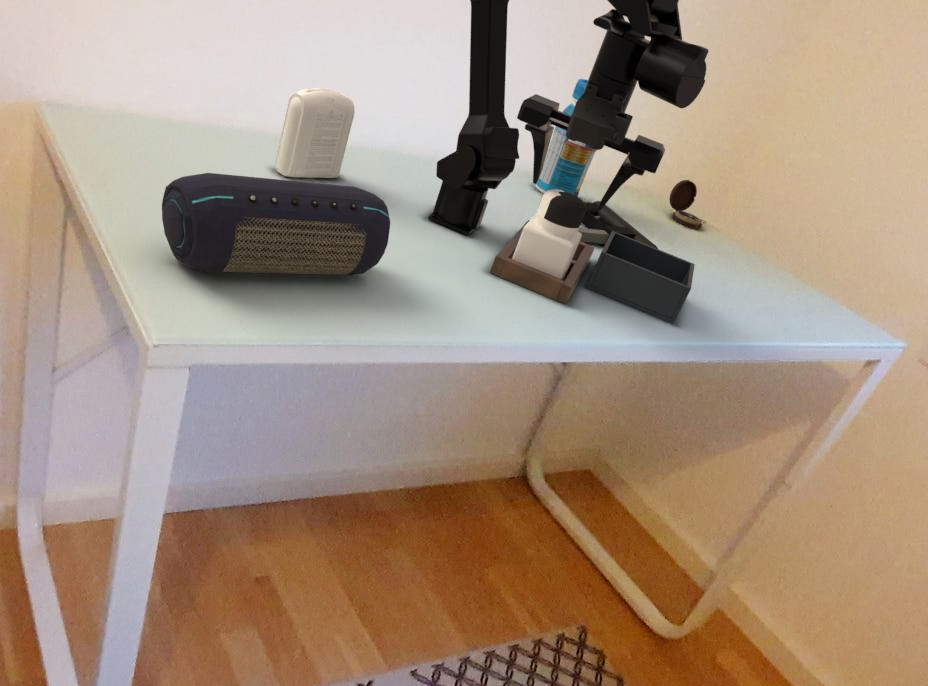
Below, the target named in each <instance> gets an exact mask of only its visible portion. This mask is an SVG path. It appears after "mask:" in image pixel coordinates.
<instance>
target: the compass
mask: <svg viewBox="0 0 928 686" xmlns="http://www.w3.org/2000/svg"><path fill="white" fill-rule="evenodd" d="M697 191H698V188H697V186H696V183H694V181H691V180H690V179H683V180H681V181H679V182H678V183H676V184H675V185H674V186H673V188H672V190H671V191H670V194H669V199H668V200H669V205H670V207H671V208H672V209H673V210H675V211H674V212H672V215H671V217H672V219H673V220H674V221H676V222H677V223H679V224H681V225H682V226H686V227H688V228H690V229H695V230H696V229H697V230H699V229H701V228H702V226H703V224H707V221H706V220H704V219H701V218H699V217H697V216H696V215H695V214H693V213H690V212H687V210H688V209H689V208H690V207H691V206H692V205H693V203H694V202H695V200H696V199H695V198H696V197H697V194H698V192H697Z"/></svg>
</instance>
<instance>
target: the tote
mask: <svg viewBox="0 0 928 686" xmlns="http://www.w3.org/2000/svg"><path fill="white" fill-rule="evenodd" d="M694 271H695V263H693V262H691V261H689V260H685V259H683V258H681V257H678V256H676V255H673V254H671V253H669V252H667V251H663V250H661V249H659V248H658V249H656V248H654V247H651V246H649V245H646V244H644V243H641V242H639V241H637V240H634V239H632V238H629V237H627V236H624V235H622V234H619V233H617V232H614V231H612V232H611V234H610V236H609V238H608V240H607V242H606V244H605V246H603V248H602V250H601V252H600V254H599V256H598V259H597V261H596V264H595V266H594V268H593V271H592V272H591V275H590V277H589V280H588V282H587V284H586V287H585V288H586V289H588V290H591V291H593V292H595V293H597V294H599V295H603V296H605V297H608V298H610V299H612V300H615V301H617V302H620V303H622V304H625V305H627V306H629V307H632V308H634V309H637V310H639V311H641V312H644V313H646V314H649V315H651V316H653V317H656V318H657V319H661V320H663V321H666V322H667V323H670V324H672V325H674V324H675V323H676V320H677V318H678V316H679V314H680V312H681V310H682V308H683V306H684V304H685V302H686V300H687V298H688V296H689V294H690V292H691V290H692V285H693V278H694Z"/></svg>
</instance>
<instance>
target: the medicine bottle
mask: <svg viewBox="0 0 928 686" xmlns="http://www.w3.org/2000/svg"><path fill="white" fill-rule="evenodd" d="M584 202H585V201H583V199H581V198H580V197H579V196H578V197H577V196H575V195H573V194H571V193H569V192H566V191H562V190H556V189H554V190H547V191H546V192H544V194H543V195H542V197H541V201H540V203H539V206H538V207H537V211H536V213H535V215H534V216H533V217H532V218H531V219H530V221H529V222H528V223H527V224H526V225H525V226H524V228H523V231H522V234H521V236H520V239H519V242H518V244H517V247H516V250H515V252H514V255H513V258H512V259H513V260H515V261H518V262H520V263H523V264H525V265H527V266H530V267H532V268H535V269H537V270H539V271H542V272H544V273H547V274H549V275H552V276H554V277H556V278H559V279H561V280H564V281H565V279H566V278H565V276H566V273H567V271H568V268H569V266H570V264H571V261H572V260H574V258H573V256H574V254H575V251H576V249H577V247H578V244H579V242H580V239H581V237H582V234H581V233H580V232H578V230H579V228H581V225H582V223H581V222H582V220H583V217H584V215H585V212H586V210H587V207H586V204H585V203H584Z"/></svg>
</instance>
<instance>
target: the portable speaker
mask: <svg viewBox="0 0 928 686" xmlns="http://www.w3.org/2000/svg"><path fill="white" fill-rule="evenodd" d="M161 219H162V220H161V221H162V227H163V233H164V236H165V238H166V240H167V243H168V245H169V248H170V250H171V252H172V255H173V257H174V258H175V260H177V261H178V262H179V263H181V264H182V265H184V266H187V267H189V268H191V269H194V270H195V271H199V272H204V273H242V274H243V273H244V274H245V273H248V274H249V273H250V274H285V275H287V274H289V275H325V276H326V275H330V276H331V275H332V276H349V277H351V276H357V275H362V274H364V273H366V272H368V271H370V270H371V269H372V268H374V267H375V266H376V265H378V264H379V263H380V261H381V259H382V257H383V256H384V254H385V253H386V250H387V247H388V244H389V236H390V229H391V218H390V214H389V208H388V205H387V204H386V202H385V201H384V200H383V199H382V198H381V197H379V196H378V195H376V194H375V193H373V192H370V191H367V190H366V189H362V188H359V187H356V186H351V185H340V184H331V183H321V182H309V181H299V180H288V179H277V178H266V177H255V176H246V175H235V174H226V173H225V174H224V173H216V172H215V173H214V172H204V173H197V174H191V175H185V176H181V177H179V178H176V179H174V180H172V181H171V182H170V183H168V185H166V186H165V189H164V192H163V196H162V202H161Z"/></svg>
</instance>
